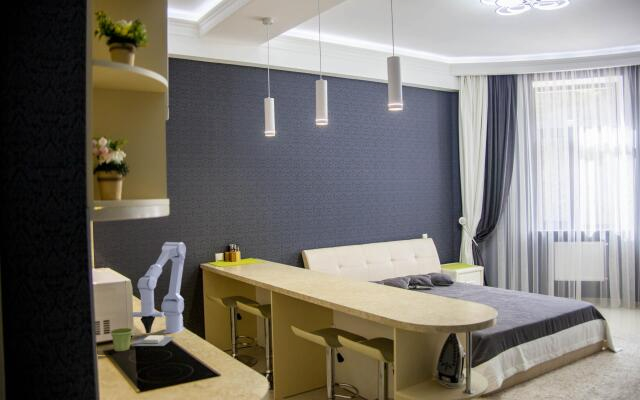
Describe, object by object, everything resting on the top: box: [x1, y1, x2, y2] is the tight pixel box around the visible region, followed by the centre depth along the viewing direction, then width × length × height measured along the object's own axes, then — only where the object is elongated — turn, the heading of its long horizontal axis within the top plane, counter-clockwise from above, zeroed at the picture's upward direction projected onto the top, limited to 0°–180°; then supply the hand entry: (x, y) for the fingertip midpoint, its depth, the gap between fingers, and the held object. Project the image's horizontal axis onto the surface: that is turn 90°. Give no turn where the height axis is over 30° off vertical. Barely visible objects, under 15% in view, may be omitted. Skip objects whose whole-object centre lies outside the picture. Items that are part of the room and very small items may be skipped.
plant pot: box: [109, 327, 134, 352], centre depth 238 cm, size 9×9×9 cm
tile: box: [143, 334, 165, 343], centre depth 250 cm, size 7×2×7 cm
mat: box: [130, 336, 176, 347], centre depth 250 cm, size 14×16×1 cm
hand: (148, 332), depth 250 cm, fingers closed
